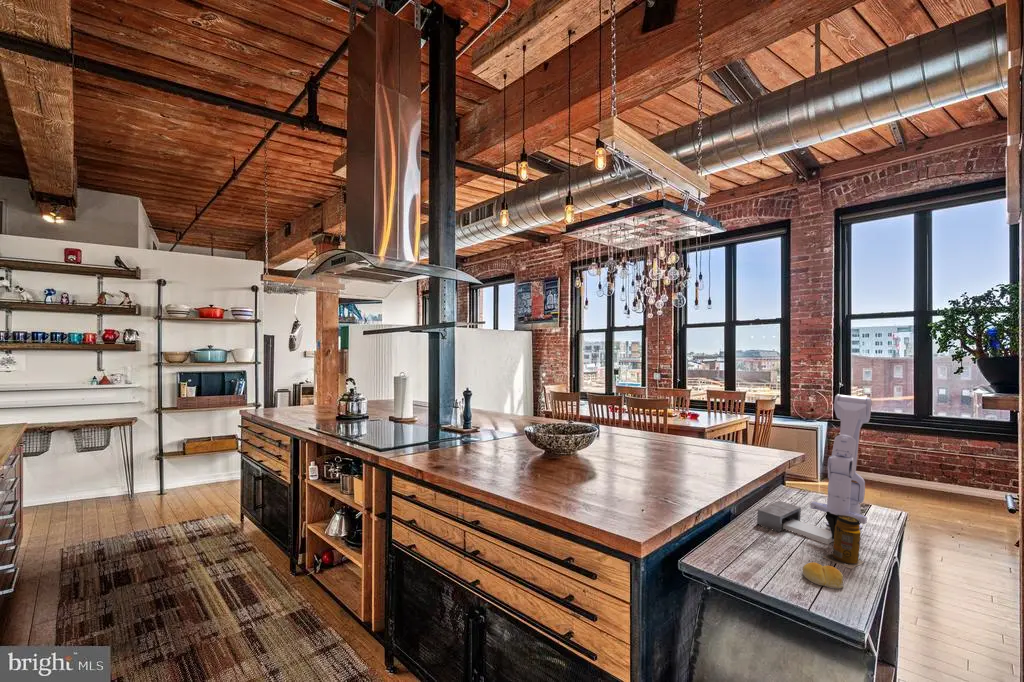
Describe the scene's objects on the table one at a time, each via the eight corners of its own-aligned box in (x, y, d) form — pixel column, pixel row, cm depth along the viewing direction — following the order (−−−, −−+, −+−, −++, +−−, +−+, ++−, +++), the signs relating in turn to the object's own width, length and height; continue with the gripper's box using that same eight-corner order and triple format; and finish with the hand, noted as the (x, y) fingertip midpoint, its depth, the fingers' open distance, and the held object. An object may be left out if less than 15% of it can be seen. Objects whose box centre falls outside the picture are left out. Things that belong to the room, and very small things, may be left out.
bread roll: (802, 569, 130) (803, 554, 130) (842, 579, 125) (843, 564, 125) (801, 581, 123) (802, 566, 123) (844, 593, 118) (845, 577, 118)
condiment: (864, 562, 136) (867, 520, 135) (851, 569, 131) (854, 526, 130) (835, 551, 142) (838, 511, 141) (822, 558, 137) (825, 516, 137)
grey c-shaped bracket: (778, 514, 169) (779, 500, 169) (799, 521, 163) (800, 507, 163) (756, 524, 159) (757, 509, 159) (779, 532, 154) (780, 516, 153)
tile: (792, 524, 162) (793, 519, 161) (837, 539, 151) (837, 533, 151) (782, 530, 157) (782, 524, 157) (827, 545, 146) (828, 539, 146)
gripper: (807, 490, 151) (804, 532, 151) (862, 505, 140) (859, 551, 140) (816, 486, 155) (813, 528, 156) (870, 500, 144) (867, 545, 144)
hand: (835, 538), depth 148 cm, fingers closed
